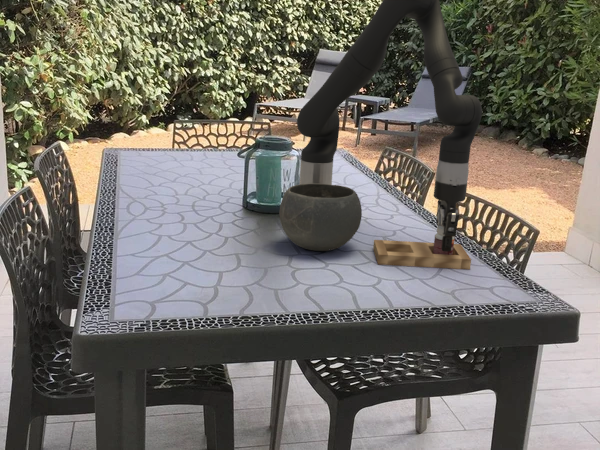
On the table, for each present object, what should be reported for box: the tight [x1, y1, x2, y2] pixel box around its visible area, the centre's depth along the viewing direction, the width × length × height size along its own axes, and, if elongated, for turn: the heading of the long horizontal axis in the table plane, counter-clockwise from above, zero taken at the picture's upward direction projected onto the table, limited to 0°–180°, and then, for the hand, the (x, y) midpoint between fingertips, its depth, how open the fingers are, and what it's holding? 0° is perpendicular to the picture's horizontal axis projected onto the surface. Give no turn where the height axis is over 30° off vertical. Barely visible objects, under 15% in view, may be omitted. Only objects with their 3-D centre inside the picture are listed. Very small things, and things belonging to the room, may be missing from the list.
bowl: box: [278, 183, 363, 252], centre depth 173 cm, size 20×20×15 cm
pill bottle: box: [433, 226, 456, 255], centre depth 170 cm, size 5×5×8 cm
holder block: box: [372, 239, 472, 270], centre depth 170 cm, size 22×12×2 cm, turn 89°
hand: (443, 246), depth 170 cm, fingers open, 5 cm apart
